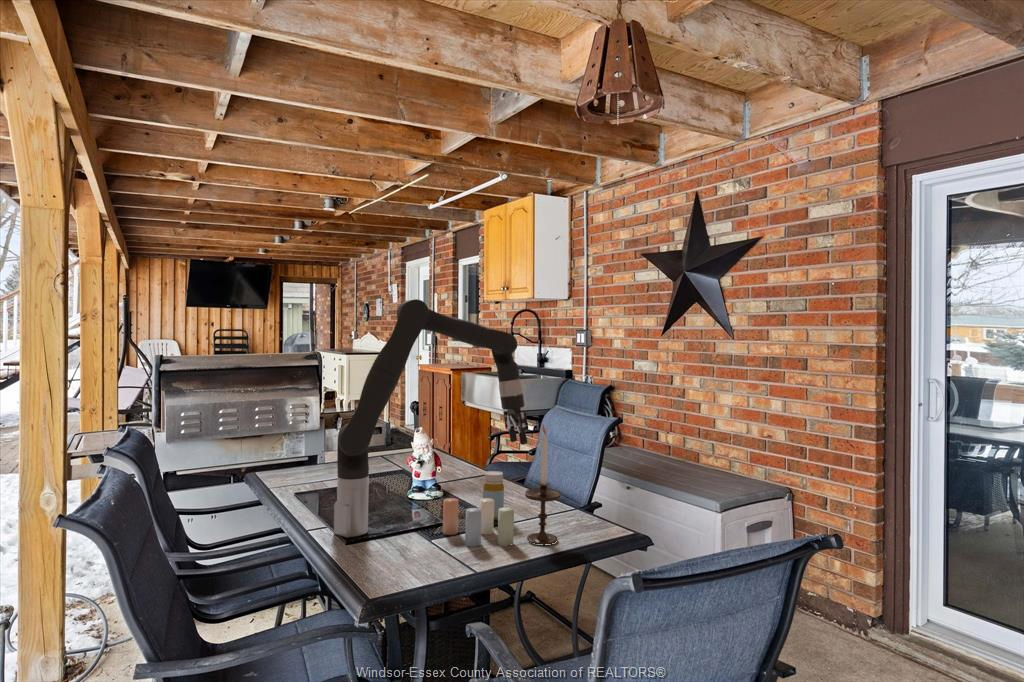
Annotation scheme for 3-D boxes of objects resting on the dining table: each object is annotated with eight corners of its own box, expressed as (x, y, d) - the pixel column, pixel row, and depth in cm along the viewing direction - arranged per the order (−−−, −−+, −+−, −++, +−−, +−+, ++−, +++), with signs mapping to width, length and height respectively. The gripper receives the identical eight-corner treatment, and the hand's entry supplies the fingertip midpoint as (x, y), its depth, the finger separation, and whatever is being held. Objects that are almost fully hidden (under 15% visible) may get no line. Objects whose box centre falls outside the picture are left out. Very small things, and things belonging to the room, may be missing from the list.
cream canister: (487, 535, 187) (487, 503, 187) (475, 532, 190) (476, 500, 190) (496, 532, 191) (497, 500, 191) (484, 528, 194) (485, 497, 194)
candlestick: (530, 548, 177) (533, 427, 177) (519, 536, 188) (522, 421, 187) (565, 545, 180) (568, 426, 180) (553, 533, 191) (555, 420, 190)
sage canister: (507, 547, 178) (507, 513, 178) (494, 543, 180) (495, 510, 180) (516, 543, 181) (517, 509, 181) (503, 539, 184) (504, 506, 184)
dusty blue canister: (474, 548, 177) (474, 513, 176) (461, 544, 179) (462, 510, 179) (484, 543, 180) (484, 509, 180) (472, 540, 183) (472, 507, 183)
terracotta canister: (450, 535, 187) (451, 503, 186) (439, 532, 189) (440, 500, 189) (460, 532, 190) (461, 499, 190) (449, 529, 193) (450, 497, 193)
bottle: (485, 521, 201) (485, 476, 201) (480, 515, 208) (481, 471, 207) (505, 520, 203) (506, 475, 203) (500, 514, 210) (501, 470, 209)
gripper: (493, 395, 207) (500, 443, 207) (508, 396, 194) (516, 447, 194) (513, 391, 210) (520, 438, 210) (530, 392, 197) (538, 442, 197)
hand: (518, 442), depth 202 cm, fingers open, 8 cm apart
